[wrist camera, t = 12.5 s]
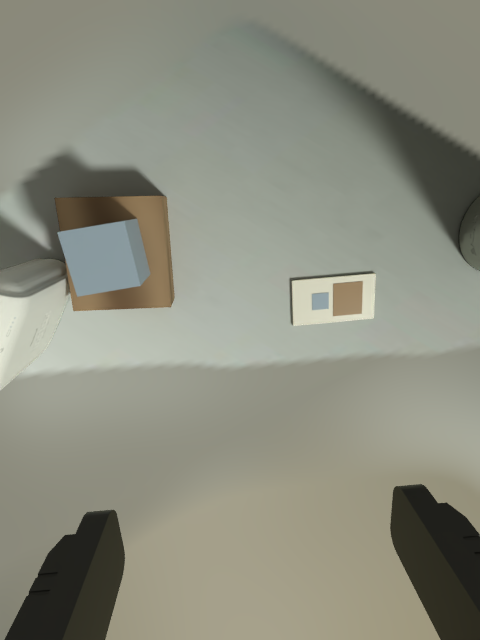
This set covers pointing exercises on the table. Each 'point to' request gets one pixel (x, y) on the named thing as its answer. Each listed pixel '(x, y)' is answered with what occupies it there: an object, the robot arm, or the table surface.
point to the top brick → (105, 257)
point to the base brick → (155, 242)
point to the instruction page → (333, 299)
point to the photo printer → (29, 312)
